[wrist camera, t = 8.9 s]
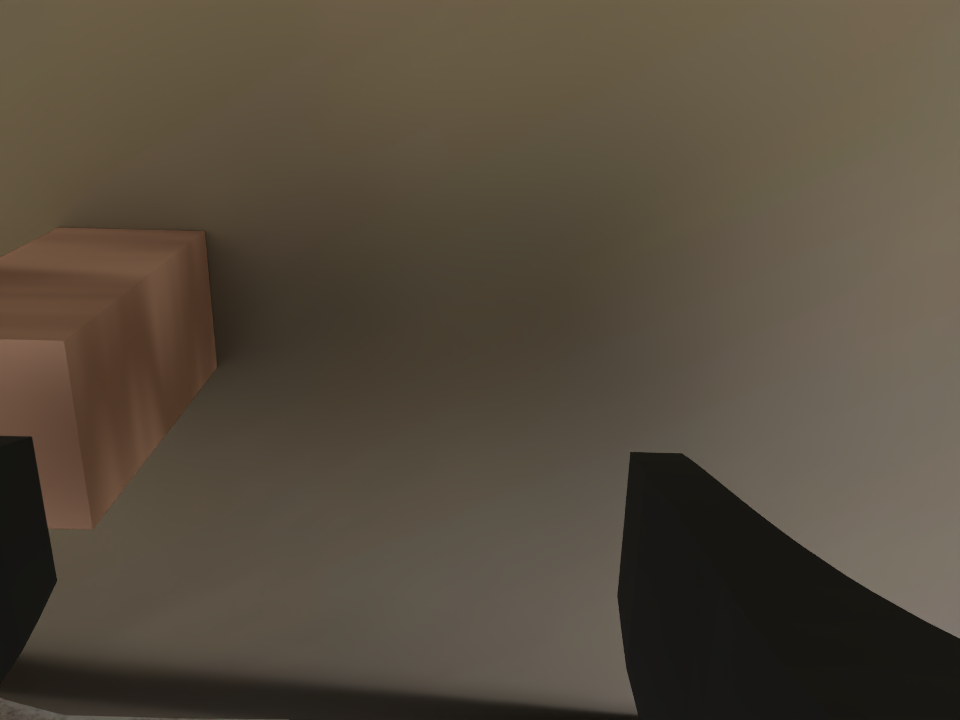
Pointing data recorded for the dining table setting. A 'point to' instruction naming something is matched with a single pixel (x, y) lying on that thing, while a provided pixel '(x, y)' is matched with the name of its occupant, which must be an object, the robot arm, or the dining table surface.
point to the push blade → (101, 355)
